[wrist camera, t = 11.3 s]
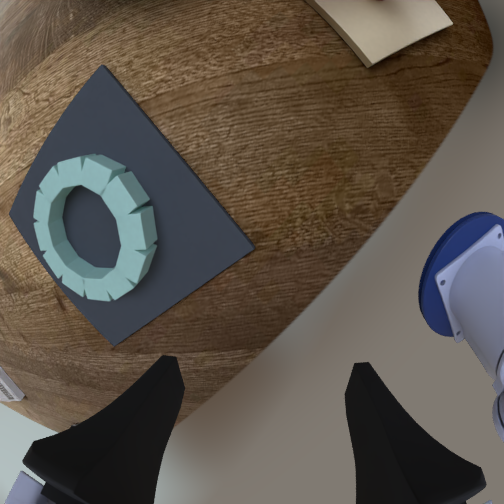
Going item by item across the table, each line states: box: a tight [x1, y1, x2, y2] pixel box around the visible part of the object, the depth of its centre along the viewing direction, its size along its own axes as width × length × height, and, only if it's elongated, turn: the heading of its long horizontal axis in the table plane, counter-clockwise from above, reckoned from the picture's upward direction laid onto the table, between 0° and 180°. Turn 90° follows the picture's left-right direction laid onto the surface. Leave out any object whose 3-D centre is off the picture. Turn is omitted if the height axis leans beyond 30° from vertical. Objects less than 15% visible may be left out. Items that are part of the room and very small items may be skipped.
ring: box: [33, 154, 157, 301], centre depth 19 cm, size 11×11×2 cm
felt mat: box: [9, 65, 255, 346], centre depth 20 cm, size 18×18×1 cm
